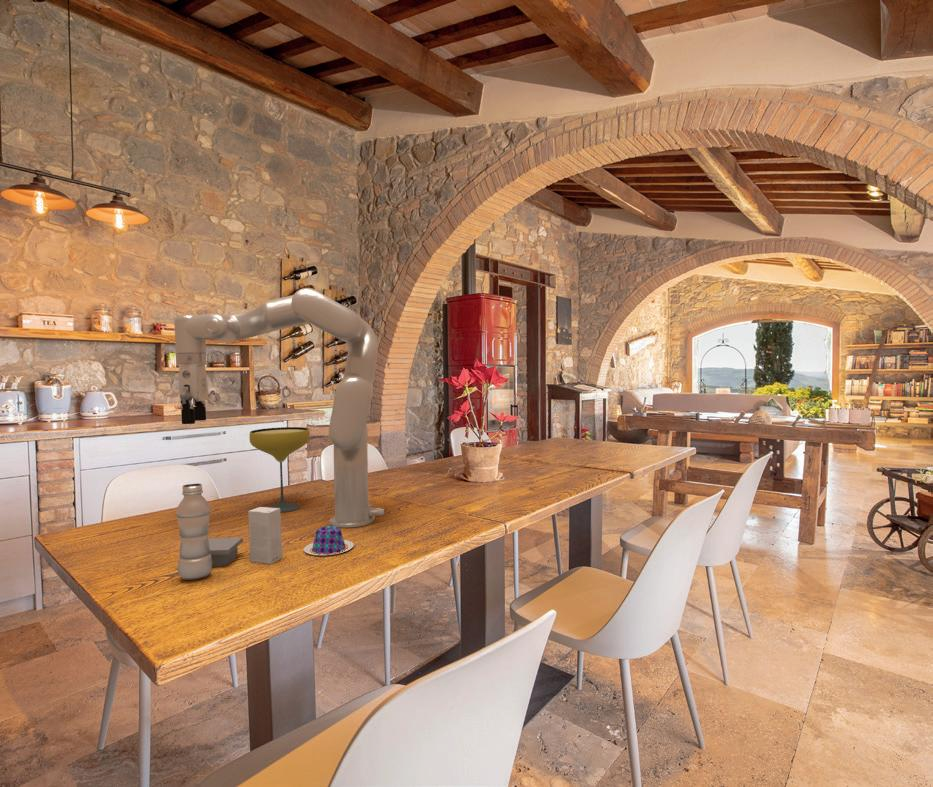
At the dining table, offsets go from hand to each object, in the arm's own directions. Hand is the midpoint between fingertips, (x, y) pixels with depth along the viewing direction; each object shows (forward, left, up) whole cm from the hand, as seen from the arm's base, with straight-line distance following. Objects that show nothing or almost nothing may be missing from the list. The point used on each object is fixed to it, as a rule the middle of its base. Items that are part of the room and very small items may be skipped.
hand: (194, 422), depth 152 cm
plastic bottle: (-15, +37, -30) cm, 50 cm away
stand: (-15, +27, -30) cm, 43 cm away
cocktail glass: (-17, -21, -30) cm, 41 cm away
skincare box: (-27, +27, -30) cm, 49 cm away
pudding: (-40, +20, -31) cm, 54 cm away
